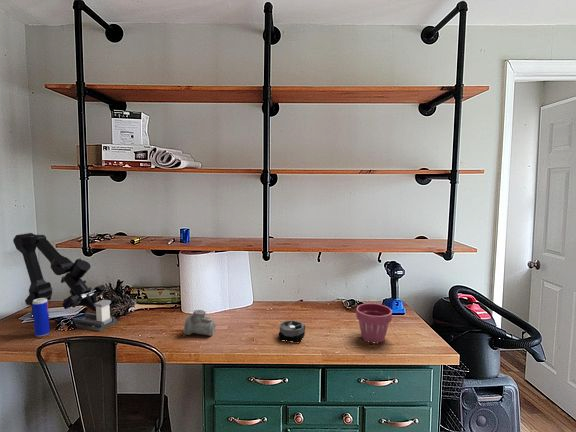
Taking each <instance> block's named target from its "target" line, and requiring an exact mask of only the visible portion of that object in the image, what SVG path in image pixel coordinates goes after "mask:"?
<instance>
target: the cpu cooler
mask: <svg viewBox="0 0 576 432" xmlns="http://www.w3.org/2000/svg"><path fill="white" fill-rule="evenodd" d="M305 330H306V324H305V323H304V322H301V321H298V320H286V321H282V322H280V324H279V332H278V340H279V339H280V340H285V341H286V340H287V341H293V342H302V341H303V339H304V337H305V334H306V331H305ZM302 338H303V339H302ZM280 340H279V341H280ZM301 340H302V341H301ZM287 341H286V342H287Z"/></svg>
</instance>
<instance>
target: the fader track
mask: <svg viewBox="0 0 576 432" xmlns="http://www.w3.org/2000/svg"><path fill="white" fill-rule="evenodd" d="M110 318H112V321H111V322H109V323H107V324H105V325H104V323H102V322H97V321H95V320H97V318H96V313H91V312H85V313H84V317H81V318H79V317H74V318H72V322H73V321H74V322H76V323H74V324H75V325H76V327H77V329H83V330H89V331H94V332H99V333H100V332H101V331H103V330H105V329H107V328H110V327H111V326H113V325H115V324H117V323H118V319H117V318H116V316H111V315H110ZM76 327H75V328H76Z"/></svg>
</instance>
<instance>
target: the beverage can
mask: <svg viewBox="0 0 576 432" xmlns="http://www.w3.org/2000/svg"><path fill="white" fill-rule="evenodd" d="M48 301H49V300H47V298H38V299H35V300H33V303H32V305H33V318H32V319H33V327H34V329H33V330H34V335H35V337H39V338H40V337H41V338H42V337H45V336H48V335H49V333H50V332H51V331H50V329H51V328H50V315H49V302H48Z"/></svg>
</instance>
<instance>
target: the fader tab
mask: <svg viewBox="0 0 576 432" xmlns="http://www.w3.org/2000/svg"><path fill="white" fill-rule="evenodd" d="M110 304H112V300H110V299H101V300H99V301H97V303H94V306H96V312H95V314H96V318H97V320H95V321H97V322H102V323H104V325H105V324H107V323H109V322H111V321H112V318H110V316H111V313H110V312H111V310H110V309H111V308H110Z"/></svg>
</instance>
